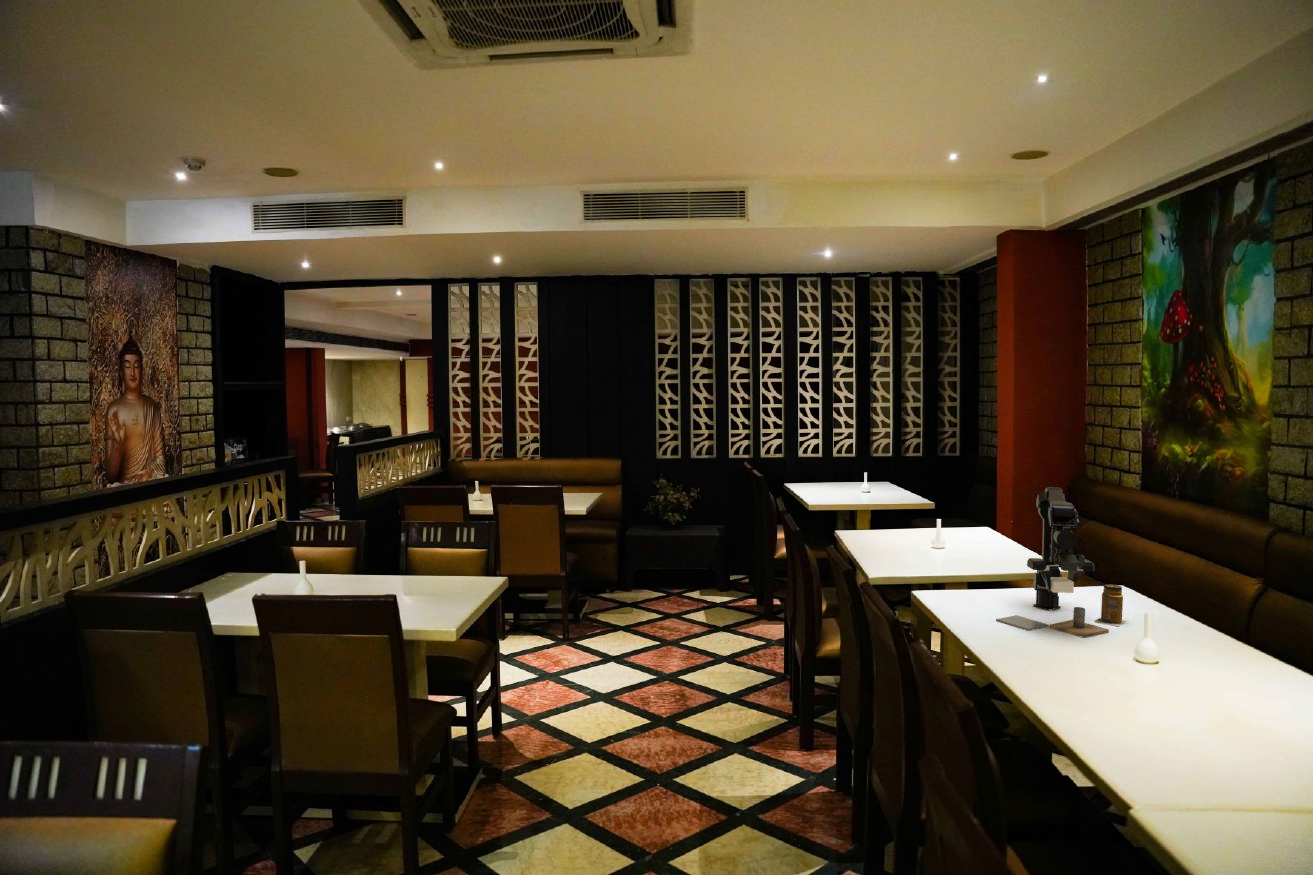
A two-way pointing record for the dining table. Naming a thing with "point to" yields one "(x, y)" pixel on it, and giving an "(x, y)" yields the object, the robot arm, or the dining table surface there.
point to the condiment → (1111, 605)
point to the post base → (1078, 631)
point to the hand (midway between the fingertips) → (1059, 591)
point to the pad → (1022, 622)
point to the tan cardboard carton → (1061, 585)
